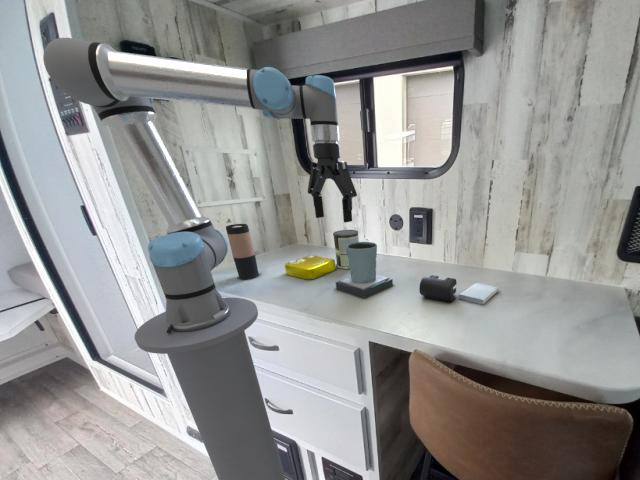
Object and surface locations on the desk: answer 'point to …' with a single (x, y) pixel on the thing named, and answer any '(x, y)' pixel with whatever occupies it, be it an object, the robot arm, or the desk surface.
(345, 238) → the coffee can
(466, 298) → the hard drive
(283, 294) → the desk surface
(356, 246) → the grey-blue cup
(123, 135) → the robot arm
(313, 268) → the element tile
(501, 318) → the desk surface
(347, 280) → the scale
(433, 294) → the end cap
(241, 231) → the travel mug
